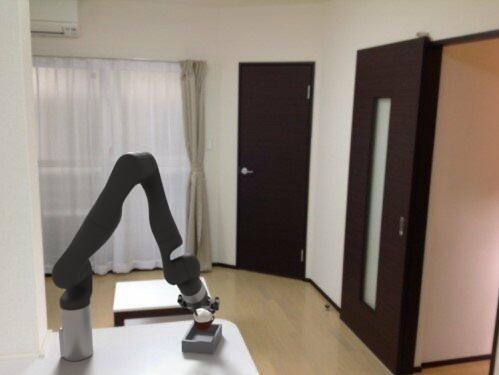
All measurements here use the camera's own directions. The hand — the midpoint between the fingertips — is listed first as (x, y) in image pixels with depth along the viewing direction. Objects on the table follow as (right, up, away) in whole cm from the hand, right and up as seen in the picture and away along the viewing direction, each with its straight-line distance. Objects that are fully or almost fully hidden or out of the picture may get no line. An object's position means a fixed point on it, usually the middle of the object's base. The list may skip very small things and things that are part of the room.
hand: (203, 310), depth 161 cm
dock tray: (0, -11, +1) cm, 11 cm away
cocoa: (0, -6, -1) cm, 6 cm away
